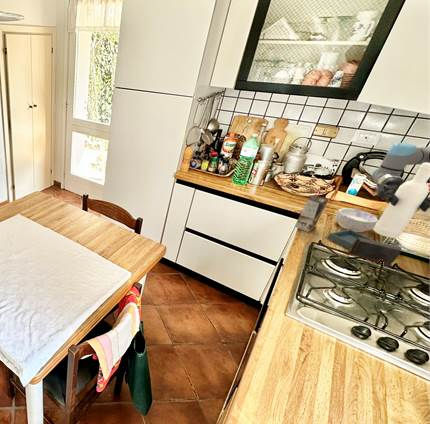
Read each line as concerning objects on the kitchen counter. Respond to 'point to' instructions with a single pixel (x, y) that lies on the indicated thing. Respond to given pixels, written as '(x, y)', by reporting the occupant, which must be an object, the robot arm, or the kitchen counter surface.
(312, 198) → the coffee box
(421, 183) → the bottle
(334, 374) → the kitchen counter surface
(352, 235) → the drying tray
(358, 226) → the paper bowls
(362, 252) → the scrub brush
